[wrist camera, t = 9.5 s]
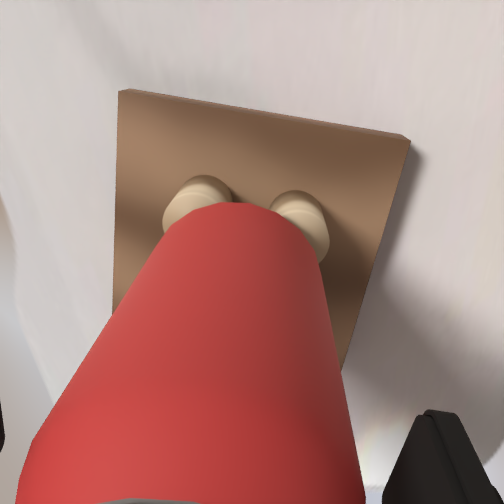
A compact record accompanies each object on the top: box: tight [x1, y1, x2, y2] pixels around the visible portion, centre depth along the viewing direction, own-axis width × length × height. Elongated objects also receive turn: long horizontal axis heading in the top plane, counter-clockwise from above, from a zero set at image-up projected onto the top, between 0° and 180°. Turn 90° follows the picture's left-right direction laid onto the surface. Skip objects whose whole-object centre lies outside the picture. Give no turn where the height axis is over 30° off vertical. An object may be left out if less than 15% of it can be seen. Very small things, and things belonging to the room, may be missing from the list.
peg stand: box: [112, 89, 411, 371], centre depth 20 cm, size 12×12×4 cm
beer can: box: [15, 202, 366, 504], centre depth 12 cm, size 7×7×12 cm
